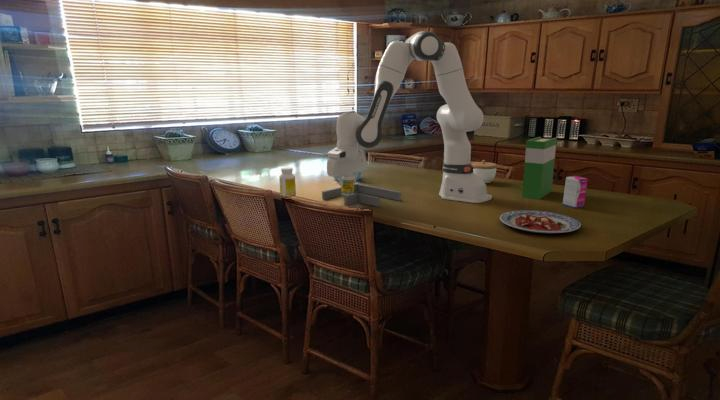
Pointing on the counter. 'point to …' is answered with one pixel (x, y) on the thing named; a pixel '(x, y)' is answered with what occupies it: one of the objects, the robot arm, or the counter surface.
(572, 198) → the supplement box
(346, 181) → the supplement bottle
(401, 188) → the counter surface
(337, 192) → the guide walls
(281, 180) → the supplement bottle
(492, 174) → the lidded bowl
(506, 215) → the ceramic plate
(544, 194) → the green white carton
